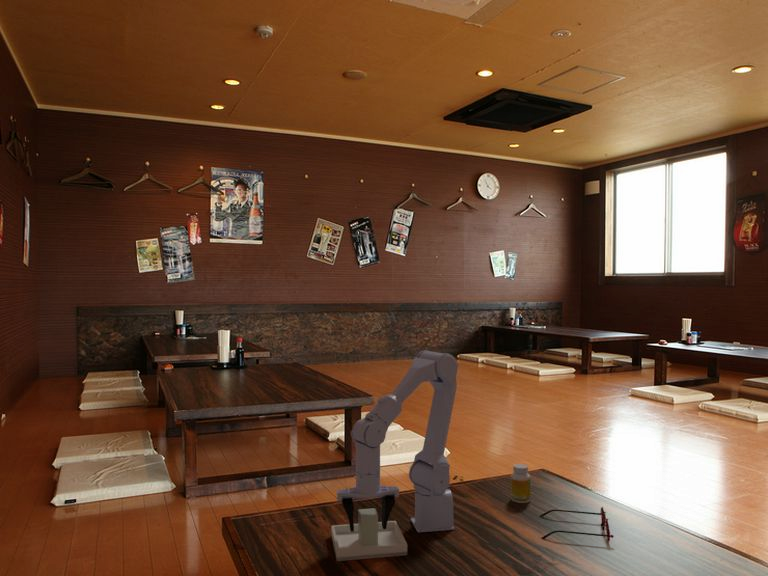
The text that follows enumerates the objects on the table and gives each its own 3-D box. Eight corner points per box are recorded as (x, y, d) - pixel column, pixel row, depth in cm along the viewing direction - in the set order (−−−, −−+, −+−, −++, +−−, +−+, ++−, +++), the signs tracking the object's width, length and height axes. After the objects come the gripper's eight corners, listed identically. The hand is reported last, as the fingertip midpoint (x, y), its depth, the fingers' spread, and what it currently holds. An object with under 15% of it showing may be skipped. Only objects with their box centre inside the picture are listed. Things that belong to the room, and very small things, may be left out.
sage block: (374, 537, 138) (375, 508, 138) (377, 544, 135) (378, 514, 134) (358, 538, 138) (358, 509, 138) (360, 546, 134) (361, 516, 134)
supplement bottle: (530, 504, 161) (530, 469, 161) (510, 502, 162) (511, 468, 162) (529, 497, 166) (529, 463, 166) (510, 495, 168) (510, 462, 167)
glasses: (613, 548, 136) (613, 526, 136) (540, 540, 140) (541, 520, 140) (605, 523, 149) (605, 504, 149) (539, 517, 153) (539, 498, 153)
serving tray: (395, 530, 144) (395, 520, 144) (407, 555, 131) (407, 544, 131) (331, 535, 141) (331, 525, 141) (336, 561, 128) (336, 550, 128)
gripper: (394, 463, 141) (394, 519, 141) (335, 467, 139) (335, 523, 139) (400, 473, 134) (400, 531, 134) (338, 477, 132) (338, 536, 132)
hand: (367, 528), depth 136 cm, fingers open, 7 cm apart
